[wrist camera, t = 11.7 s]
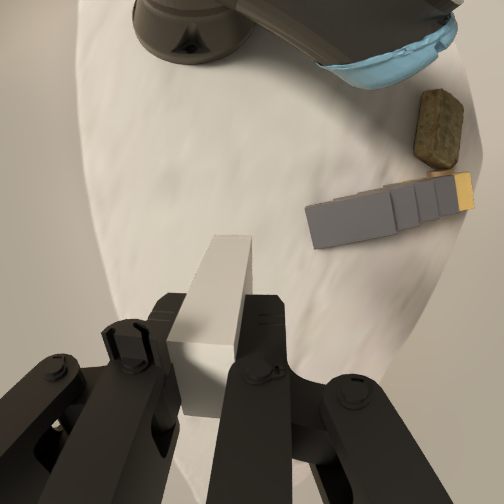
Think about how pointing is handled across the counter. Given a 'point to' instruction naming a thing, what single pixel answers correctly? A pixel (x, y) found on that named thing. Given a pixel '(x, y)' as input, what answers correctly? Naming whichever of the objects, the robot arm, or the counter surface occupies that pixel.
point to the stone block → (439, 129)
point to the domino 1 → (351, 219)
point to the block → (440, 172)
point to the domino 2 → (400, 206)
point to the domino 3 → (422, 199)
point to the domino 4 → (443, 194)
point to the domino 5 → (462, 190)
